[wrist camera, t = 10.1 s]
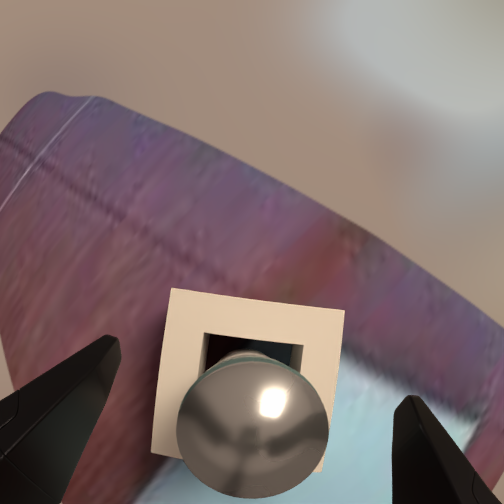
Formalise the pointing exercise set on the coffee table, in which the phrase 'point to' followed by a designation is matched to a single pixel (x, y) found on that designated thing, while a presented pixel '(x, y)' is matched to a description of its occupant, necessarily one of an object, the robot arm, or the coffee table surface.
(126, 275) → the coffee table surface
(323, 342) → the docking block
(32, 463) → the robot arm
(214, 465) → the cylinder
